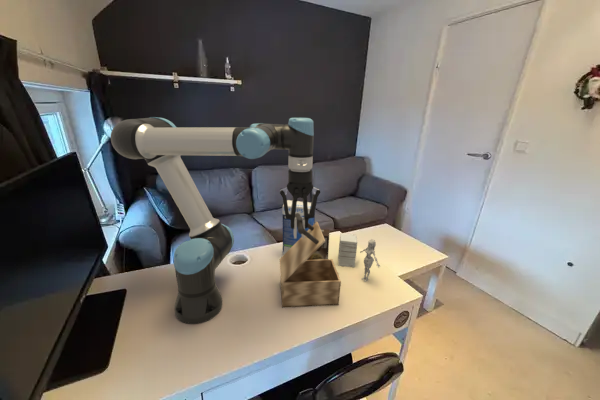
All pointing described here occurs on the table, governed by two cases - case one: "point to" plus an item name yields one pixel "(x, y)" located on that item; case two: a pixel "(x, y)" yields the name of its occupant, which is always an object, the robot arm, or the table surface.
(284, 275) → the lid
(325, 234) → the coffee box
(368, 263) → the human figurine
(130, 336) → the table surface
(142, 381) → the table surface
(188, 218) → the robot arm
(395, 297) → the table surface
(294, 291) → the wooden box
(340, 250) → the supplement box
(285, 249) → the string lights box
